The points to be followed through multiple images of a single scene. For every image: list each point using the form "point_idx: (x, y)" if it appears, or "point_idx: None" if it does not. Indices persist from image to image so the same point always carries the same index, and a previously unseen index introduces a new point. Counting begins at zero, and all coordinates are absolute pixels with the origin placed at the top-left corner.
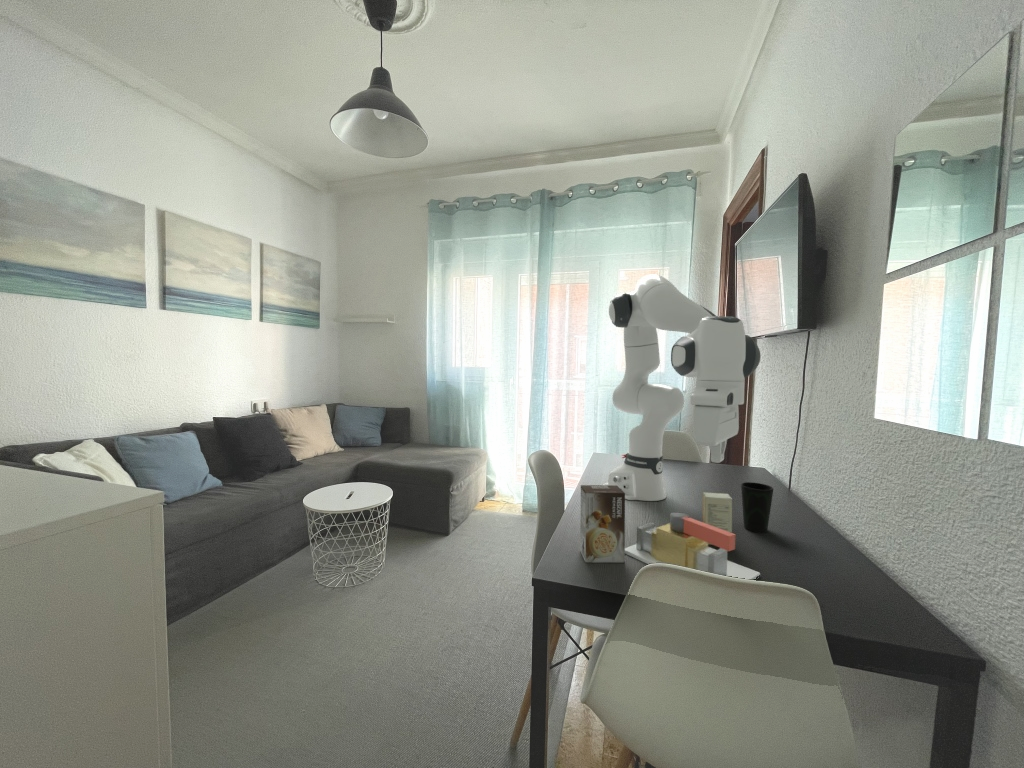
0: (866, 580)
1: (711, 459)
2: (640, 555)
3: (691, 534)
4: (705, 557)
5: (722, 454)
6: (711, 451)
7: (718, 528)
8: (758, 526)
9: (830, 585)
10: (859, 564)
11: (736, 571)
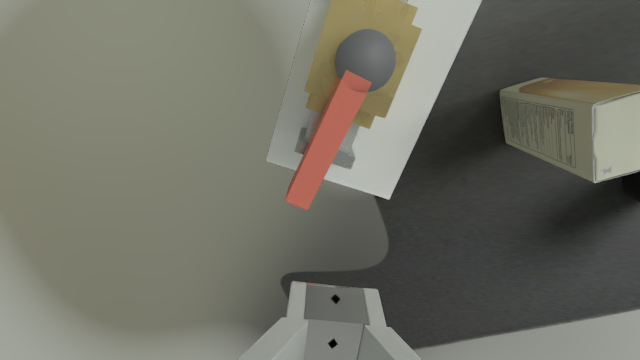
0: (459, 313)
1: (290, 289)
2: None
3: (328, 100)
4: (307, 130)
5: (334, 358)
6: (268, 334)
7: (323, 174)
8: (634, 189)
9: (414, 277)
10: (519, 312)
11: (370, 166)
